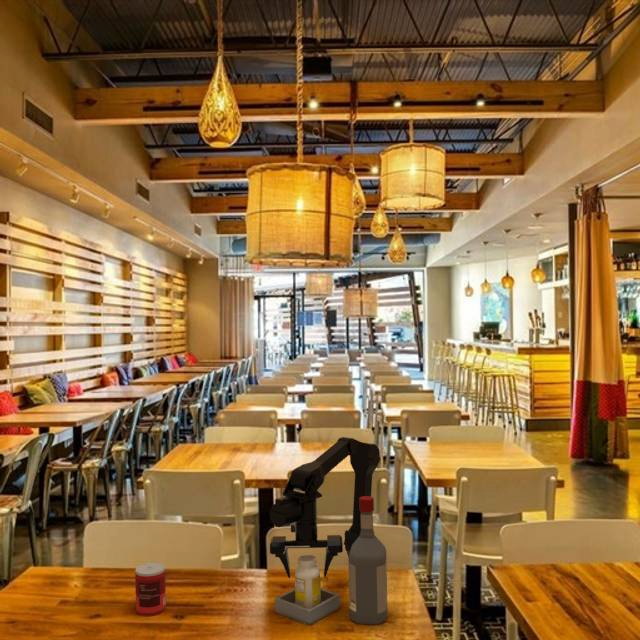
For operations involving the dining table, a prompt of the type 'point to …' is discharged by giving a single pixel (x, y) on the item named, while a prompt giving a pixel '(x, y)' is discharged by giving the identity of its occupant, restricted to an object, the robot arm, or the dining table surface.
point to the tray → (308, 616)
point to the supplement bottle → (307, 582)
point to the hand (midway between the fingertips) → (307, 577)
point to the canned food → (150, 589)
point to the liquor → (367, 571)
